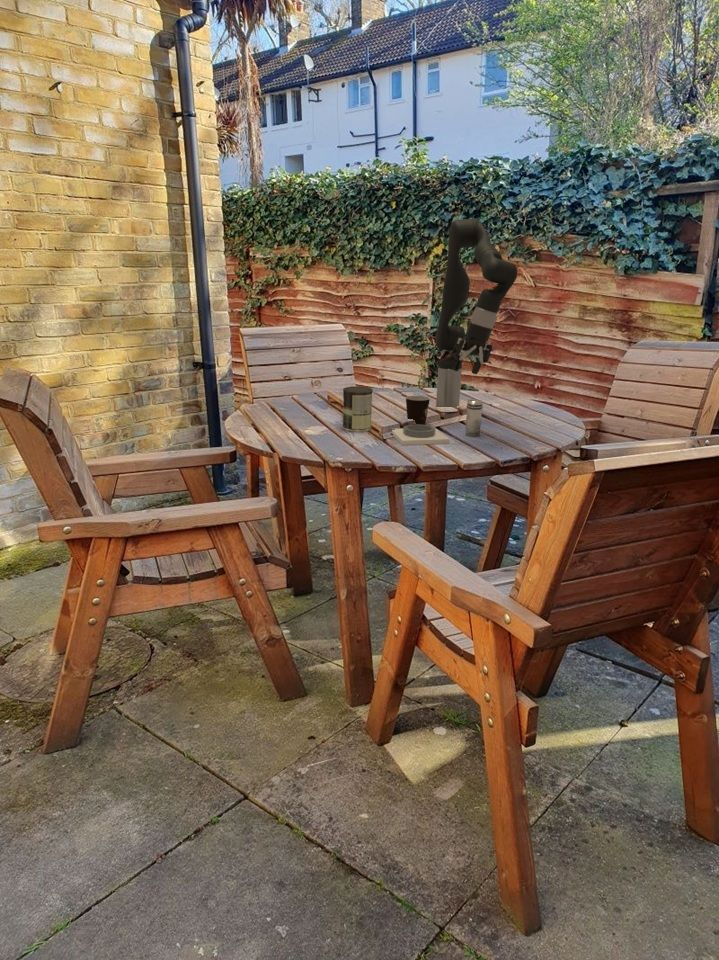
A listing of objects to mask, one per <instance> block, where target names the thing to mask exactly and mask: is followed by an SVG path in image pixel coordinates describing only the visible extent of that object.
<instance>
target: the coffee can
mask: <svg viewBox="0 0 719 960" xmlns="http://www.w3.org/2000/svg"><path fill="white" fill-rule="evenodd" d="M342 391H343V393H342V397H343V402H342V408H343V409H342V429H343V430H345V431H347V432H352V433H353V432H354V433H364V432H368V431H371V430H372V409H373V407H372V406H373V405H372V404H373V391H374V390H373V388H371V387H367V386H346V387H344V388H342Z"/></svg>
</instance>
